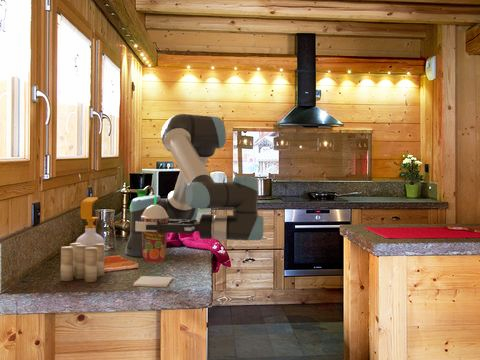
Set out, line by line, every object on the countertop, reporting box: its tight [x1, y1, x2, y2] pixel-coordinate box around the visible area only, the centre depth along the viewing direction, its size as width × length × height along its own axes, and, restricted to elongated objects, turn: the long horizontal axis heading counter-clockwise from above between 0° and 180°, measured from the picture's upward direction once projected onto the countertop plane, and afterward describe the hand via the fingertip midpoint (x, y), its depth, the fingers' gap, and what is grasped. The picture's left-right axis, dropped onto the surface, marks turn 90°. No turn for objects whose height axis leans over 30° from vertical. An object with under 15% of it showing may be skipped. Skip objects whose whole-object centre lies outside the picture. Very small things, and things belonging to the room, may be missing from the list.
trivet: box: [133, 275, 174, 288], centre depth 145 cm, size 10×10×1 cm
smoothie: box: [141, 196, 169, 263], centre depth 144 cm, size 8×8×20 cm
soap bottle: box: [75, 196, 105, 248], centre depth 160 cm, size 9×9×25 cm
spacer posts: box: [60, 242, 106, 283], centre depth 149 cm, size 11×11×10 cm
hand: (139, 224), depth 145 cm, fingers closed on smoothie, 8 cm apart
